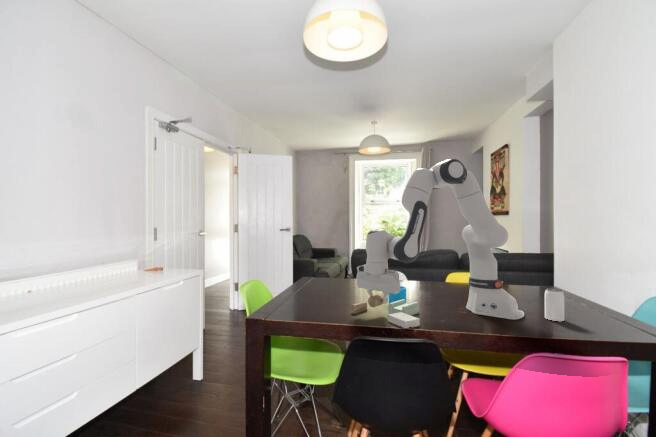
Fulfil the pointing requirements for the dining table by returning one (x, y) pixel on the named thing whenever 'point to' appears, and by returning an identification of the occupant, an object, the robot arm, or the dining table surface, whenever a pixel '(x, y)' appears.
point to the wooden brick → (359, 307)
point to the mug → (398, 295)
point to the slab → (403, 320)
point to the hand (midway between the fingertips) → (378, 301)
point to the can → (554, 304)
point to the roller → (376, 300)
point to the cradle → (403, 307)
